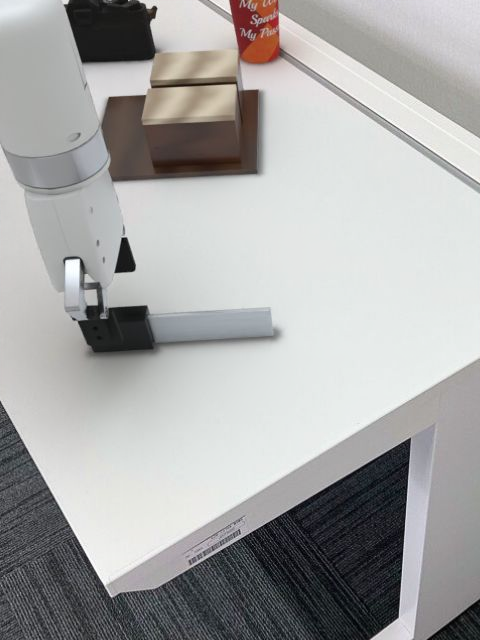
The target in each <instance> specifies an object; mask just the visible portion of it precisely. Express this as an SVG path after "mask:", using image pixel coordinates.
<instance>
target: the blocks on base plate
mask: <svg viewBox="0 0 480 640" xmlns="http://www.w3.org/2000/svg"><path fill="white" fill-rule="evenodd" d="M241 67H242V66H241V59H240V53H239V48H238V49H216V50H214V49H213V50H195V51H194V50H193V51H176V52H175V51H172V52H170V51H169V52H156V53H155V56H154V58H153V61H152V67H151V71H150V75H149V76H150V77H149V84H150V88H147V91H146V94H135V95H119V96H118V95H116V96H115V95H114V96H108V99H107V102H106V106H105V109H104V114H103V117H102V120H101V123H100V125H101V128H102V131H103V134H104V138H105V141H106V144H107V147H108V150H109V154H110V159H111V161H110V165H109V167H108V171H109V174H110V176H111V179H112V182H122V181H123V182H124V181H141V180H142V181H143V180H159V179H160V180H161V179H179V178H181V179H182V178H197V177H199V178H200V177H215V176H216V177H219V176H234V175H254V174H258V173H259V171H258V170H259V128H260V123H259V122H260V89H257V88H256V89H244V83H243V82H244V81H243V76H242V68H241Z"/></svg>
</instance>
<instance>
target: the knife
mask: <svg viewBox="0 0 480 640" xmlns="http://www.w3.org/2000/svg"><path fill="white" fill-rule="evenodd" d="M108 309H113V311H114V314H115V316H116V319H117V322H118V325H119V327H120V330H121V333H122V336H123V342H122V344H119V345H104V346H90V347H91V350H92V353H93V354H94V353H96V354H97V353H113V352H127V351H128V352H129V351H146V350H147V351H148V350H154V349H155V344H158V343H175V342H176V343H177V342H192V341H209V340H224V339H225V340H226V339H241V338H242V339H243V338H258V337H274V336H275V335H274V334H275V332H274V326H273V325H274V324H273V318H272V312H271V311H272V310H271V309H272V308H271V307H270V306H267V307H266V306H265V307H264V306H263V307H250V308H233V309H232V308H229V309H216V310H199V311H183V312H182V311H180V312H179V311H178V312H165V313H150V310H149V306H148V305H128V306H112V307H111V306H110V307H109V306H108Z"/></svg>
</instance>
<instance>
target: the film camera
mask: <svg viewBox="0 0 480 640" xmlns="http://www.w3.org/2000/svg"><path fill="white" fill-rule="evenodd" d="M63 5H64V7H65V10H66V13H67V16H68V19H69V23H70V26H71V29H72V33H73V36H74V39H75V43H76V46H77V49H78V52H79V56H80V59H81V62H82V64H83V63H84V64H85V63H109V62H110V63H111V62H114V63H115V62H144V61H149V60H154V57H155V53H157V51H156V44H155V41H154V35H153V32H152V27H151V23H152V21H153V20H156V17H157V13H158V7H157V5H153V6H152V7H151V8H147V4H146V3H144V2H141V1H140V0H68V2H67V3H63Z"/></svg>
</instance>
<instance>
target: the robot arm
mask: <svg viewBox="0 0 480 640" xmlns="http://www.w3.org/2000/svg"><path fill="white" fill-rule="evenodd" d="M63 4H64V2H63V1H62V0H0V147H1V150H2V152H3V154H4V156H5V159H6V161H7V163H8V166H9V168H10V171H11V173H12V175H13V176H14V180H15V183H16V184H17V185H18V186H19V187H20V188H22V189H23V190H24V191H23V196H24V201H25V206H26V211H27V215H28V219H29V222H30V227H31V229H32V234H33V236H34V239H35V242H36V245H37V248H38V250H39V253H40V256H41V260H42V263H43V264H44V265H43V266H44V267H45V270H46V272H47V275H48V278H49V280H50V282H51V285H52V287H53V289H54V290H55V292H57V293H64V294H63V295H64V296H63V298H64V299H63V307H64V311H65V313H66V314H67V315H68V316H69V317H70V318H71V320H72V321H73V322H77V324H78V326H79V329H80V331H81V334H82V336H83V339H84V341H85V343H86V345H87V346H89V347H91V346H104V345H119V344H122V342H123V336H122V333H121V330H120V327H119V325H118V322H117V319H116V316H115V314H114V311H113V309H108V308H109V303H108V293H107V288H108V287H110V285H111V284H112V282H113V280H114V276H115V274H127V273H133V272H135V271H136V269H137V264H136V260H135V257H134V255H133V251H132V247H131V245H130V242H129V238H128V236H126V227H125V224H124V217H123V212H122V208H121V203H120V200H119V197H118V194H117V190H116V188H115V185H114V181H112V179H111V176H110V174H109V171H108V167H109V165H110V161H111V159H110V154H109V150H108V147H107V144H106V141H105V138H104V134H103V131H102V128H101V121H100V119H99V115H98V112H97V108H96V105H95V101H94V99H93V95H92V92H91V89H90V85H89V82H88V80H87V76H86V73H85V70H84V69H85V68H84V66H83V63H82V62H81V59H80V56H79V52H78V49H77V46H76V43H75V39H74V36H73V33H72V29H71V26H70V23H69V19H68V16H67V13H66V10H65V7H64V5H63ZM85 275H88V277H90V278H91V279H92V280H93V281H92V282H89V281H88V282H86V281H85V277H86V276H85ZM92 290H93V291H94V290H95V292H96V300H97V304H91V305H90V304H89V305H88V301H86V298H85V291H92Z"/></svg>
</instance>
